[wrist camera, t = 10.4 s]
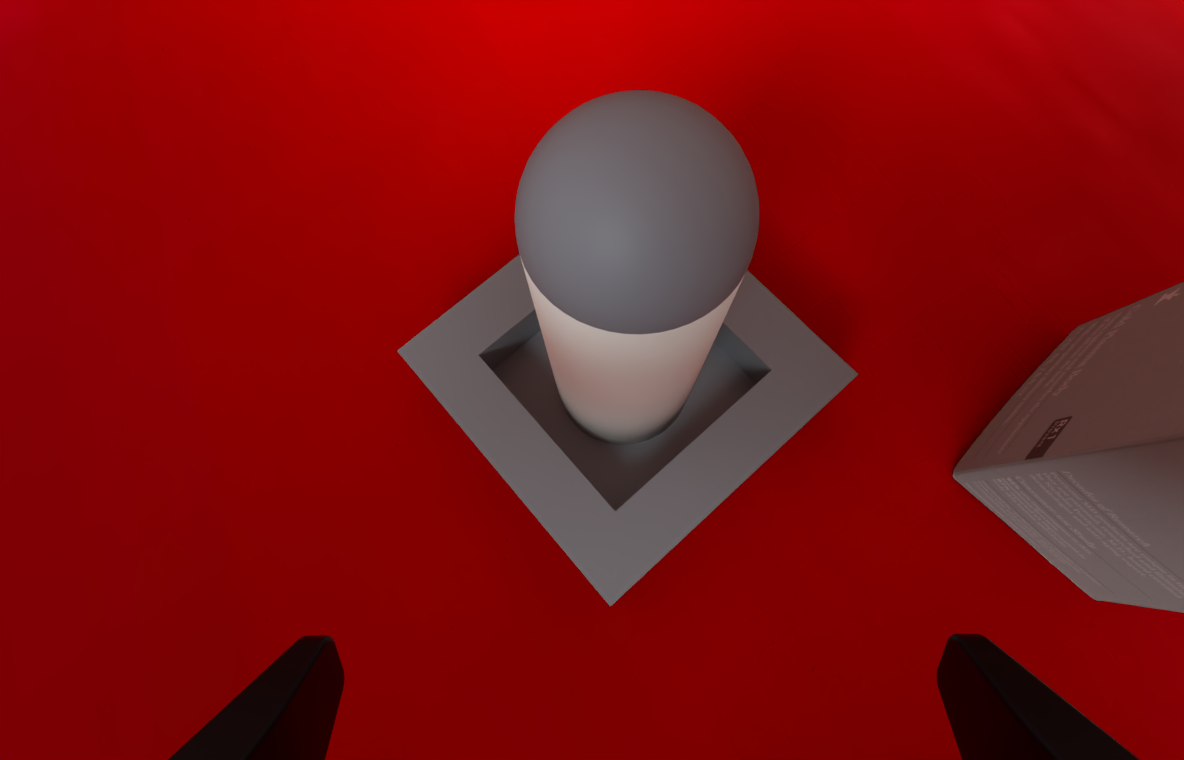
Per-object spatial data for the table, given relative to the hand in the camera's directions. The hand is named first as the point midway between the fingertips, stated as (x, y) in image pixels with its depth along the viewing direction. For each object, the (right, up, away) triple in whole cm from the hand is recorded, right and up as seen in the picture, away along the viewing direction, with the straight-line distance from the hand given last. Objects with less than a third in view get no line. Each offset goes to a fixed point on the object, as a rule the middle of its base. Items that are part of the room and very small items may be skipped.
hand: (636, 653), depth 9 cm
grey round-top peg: (0, +4, +14) cm, 14 cm away
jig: (+1, +4, +15) cm, 15 cm away
